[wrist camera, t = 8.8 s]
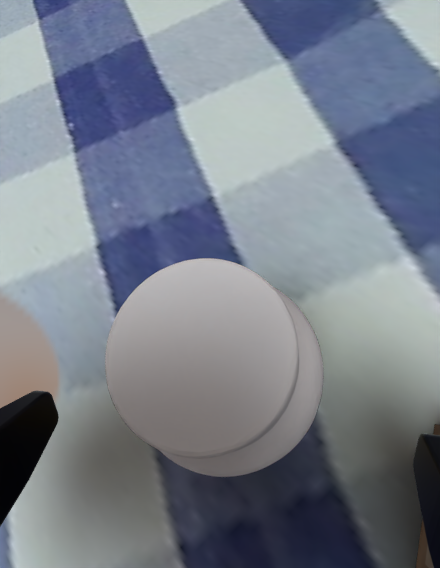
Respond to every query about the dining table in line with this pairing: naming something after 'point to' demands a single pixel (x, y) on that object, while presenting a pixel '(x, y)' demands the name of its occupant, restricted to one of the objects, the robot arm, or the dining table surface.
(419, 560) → the rail
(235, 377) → the supplement bottle
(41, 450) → the robot arm
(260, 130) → the dining table surface
